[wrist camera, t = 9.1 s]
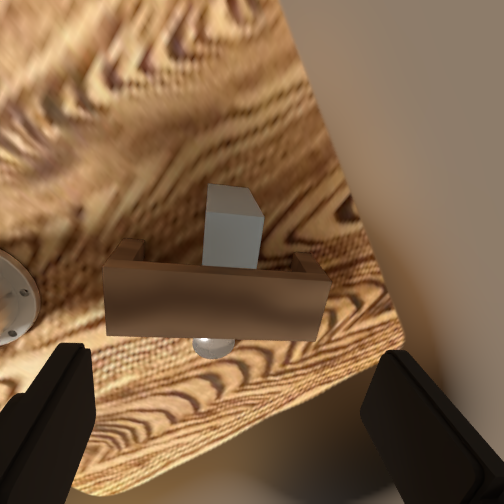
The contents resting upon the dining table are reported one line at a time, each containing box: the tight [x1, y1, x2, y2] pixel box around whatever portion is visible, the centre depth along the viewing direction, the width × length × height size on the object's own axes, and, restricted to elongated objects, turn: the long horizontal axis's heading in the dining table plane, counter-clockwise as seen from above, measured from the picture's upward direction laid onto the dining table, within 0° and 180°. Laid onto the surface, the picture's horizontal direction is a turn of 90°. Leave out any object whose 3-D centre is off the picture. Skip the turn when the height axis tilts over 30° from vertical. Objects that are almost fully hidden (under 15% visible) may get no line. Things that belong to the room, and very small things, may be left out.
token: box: [193, 338, 235, 359], centre depth 36 cm, size 5×5×2 cm
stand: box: [102, 238, 332, 342], centre depth 30 cm, size 7×20×6 cm, turn 82°
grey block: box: [202, 183, 265, 269], centre depth 28 cm, size 16×4×10 cm, turn 172°
